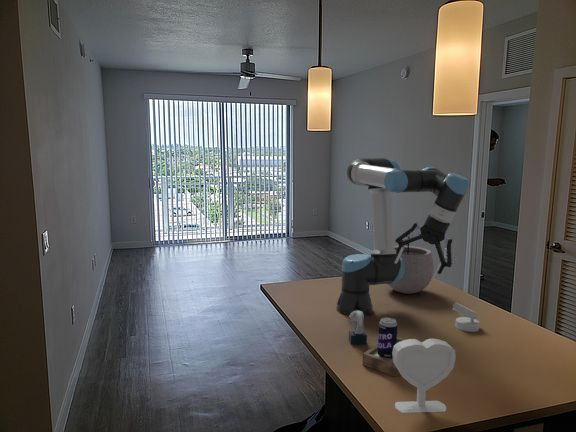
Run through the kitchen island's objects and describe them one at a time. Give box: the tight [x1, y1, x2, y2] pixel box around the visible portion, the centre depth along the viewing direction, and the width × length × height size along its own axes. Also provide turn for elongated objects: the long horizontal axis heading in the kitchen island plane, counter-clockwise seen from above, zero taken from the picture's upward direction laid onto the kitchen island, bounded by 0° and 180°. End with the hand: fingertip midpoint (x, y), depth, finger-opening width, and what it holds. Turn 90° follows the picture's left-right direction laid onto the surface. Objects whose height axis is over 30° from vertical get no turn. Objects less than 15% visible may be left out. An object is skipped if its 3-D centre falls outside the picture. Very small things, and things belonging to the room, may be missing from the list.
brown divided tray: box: [362, 336, 406, 377], centre depth 142 cm, size 11×19×4 cm, turn 140°
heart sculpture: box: [392, 338, 457, 414], centre depth 114 cm, size 16×5×18 cm, turn 94°
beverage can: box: [377, 317, 399, 360], centre depth 137 cm, size 6×6×12 cm
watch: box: [348, 311, 368, 345], centre depth 155 cm, size 6×8×11 cm
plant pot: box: [387, 233, 434, 295], centre depth 212 cm, size 24×24×30 cm
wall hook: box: [452, 302, 481, 333], centre depth 170 cm, size 9×10×10 cm
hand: (413, 271), depth 156 cm, fingers open, 13 cm apart
